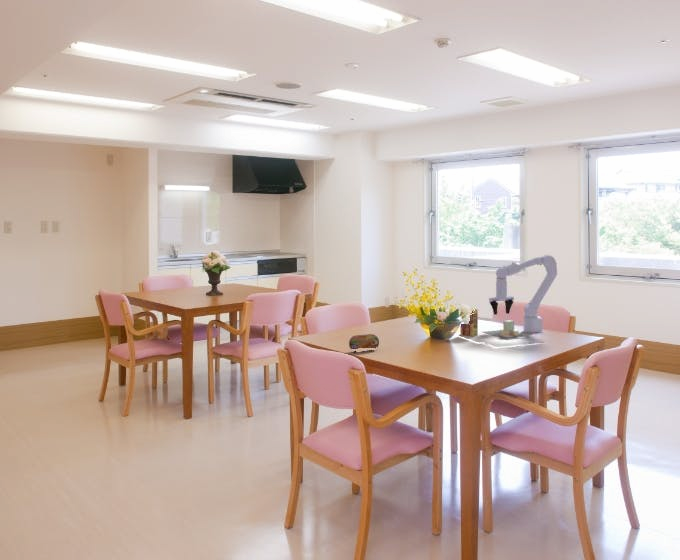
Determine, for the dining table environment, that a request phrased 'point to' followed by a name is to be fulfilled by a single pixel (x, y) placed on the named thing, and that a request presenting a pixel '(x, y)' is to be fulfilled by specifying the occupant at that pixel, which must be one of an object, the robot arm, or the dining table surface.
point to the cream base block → (509, 333)
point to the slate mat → (497, 334)
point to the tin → (364, 341)
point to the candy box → (470, 325)
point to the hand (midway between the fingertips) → (501, 313)
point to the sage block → (508, 325)
